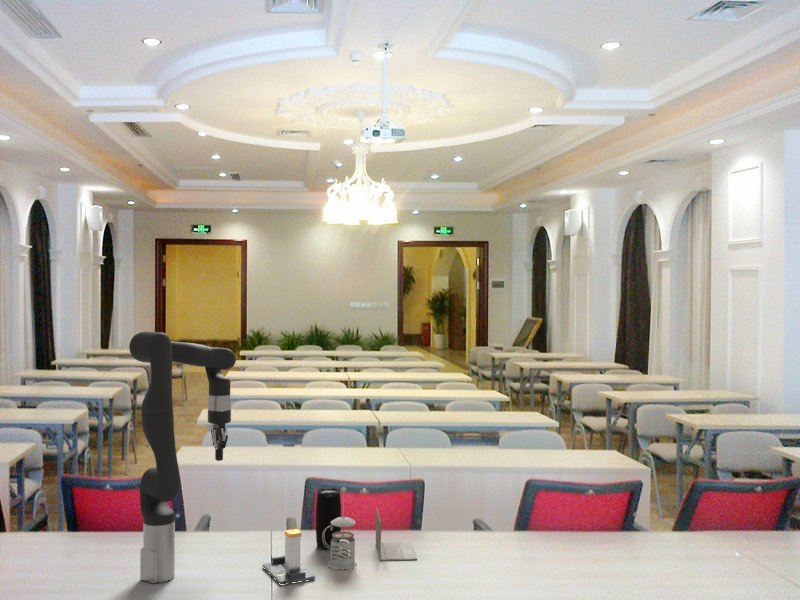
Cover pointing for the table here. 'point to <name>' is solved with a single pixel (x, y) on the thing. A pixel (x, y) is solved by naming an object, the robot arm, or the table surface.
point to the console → (280, 574)
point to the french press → (342, 543)
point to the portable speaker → (327, 515)
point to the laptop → (392, 546)
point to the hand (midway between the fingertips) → (219, 460)
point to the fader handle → (292, 551)
